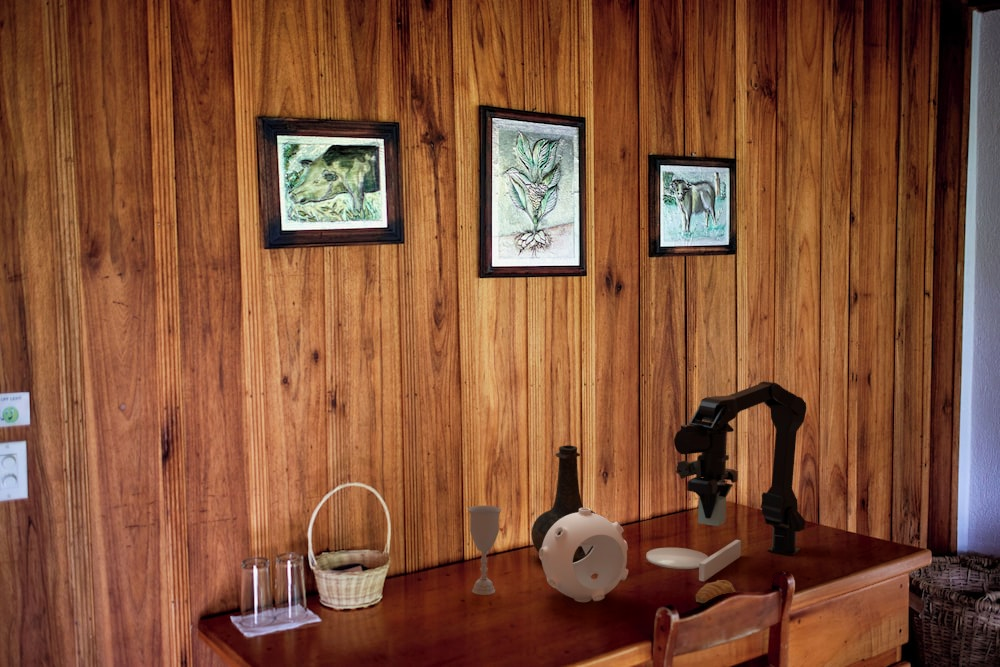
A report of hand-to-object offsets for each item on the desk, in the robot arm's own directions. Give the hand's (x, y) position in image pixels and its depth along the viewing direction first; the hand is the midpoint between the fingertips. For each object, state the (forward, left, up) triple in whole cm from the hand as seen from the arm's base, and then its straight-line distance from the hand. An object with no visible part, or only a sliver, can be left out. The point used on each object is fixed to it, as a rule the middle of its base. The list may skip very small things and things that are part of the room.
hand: (711, 515), depth 224 cm
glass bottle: (+17, -29, -12) cm, 36 cm away
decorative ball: (+39, -13, -12) cm, 43 cm away
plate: (0, -8, -12) cm, 15 cm away
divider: (0, +3, -12) cm, 12 cm away
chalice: (+47, -33, -12) cm, 59 cm away
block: (0, 0, -2) cm, 2 cm away
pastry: (+22, +10, -13) cm, 27 cm away
